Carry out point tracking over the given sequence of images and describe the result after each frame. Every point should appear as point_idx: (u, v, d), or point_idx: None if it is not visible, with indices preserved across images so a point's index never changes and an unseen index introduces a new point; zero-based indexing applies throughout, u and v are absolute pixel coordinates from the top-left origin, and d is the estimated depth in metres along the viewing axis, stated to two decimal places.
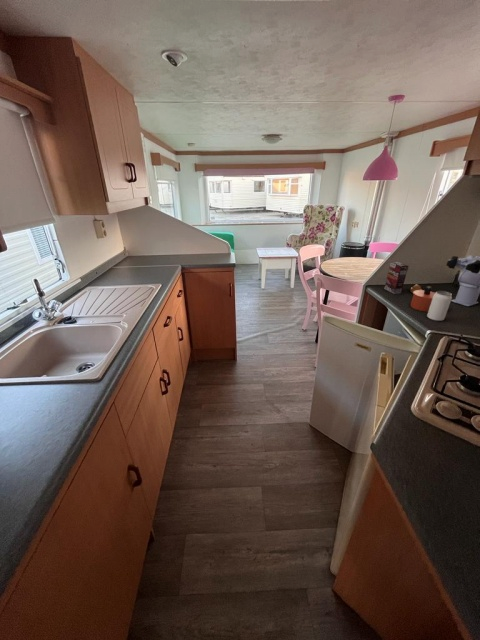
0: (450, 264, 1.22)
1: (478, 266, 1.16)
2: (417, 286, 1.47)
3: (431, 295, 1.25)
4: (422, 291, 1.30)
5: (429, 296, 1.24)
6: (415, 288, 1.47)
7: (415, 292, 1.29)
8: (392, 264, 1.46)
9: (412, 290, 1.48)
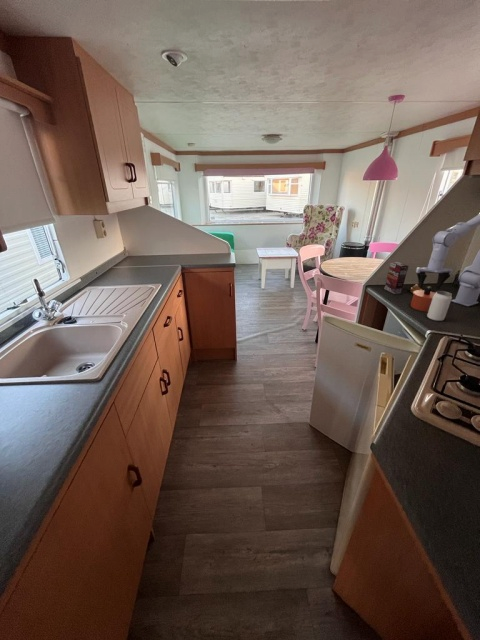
0: None
1: None
2: (417, 286, 1.47)
3: (431, 295, 1.25)
4: (422, 291, 1.30)
5: (429, 296, 1.24)
6: (415, 288, 1.47)
7: (415, 292, 1.29)
8: (392, 264, 1.46)
9: (412, 290, 1.48)
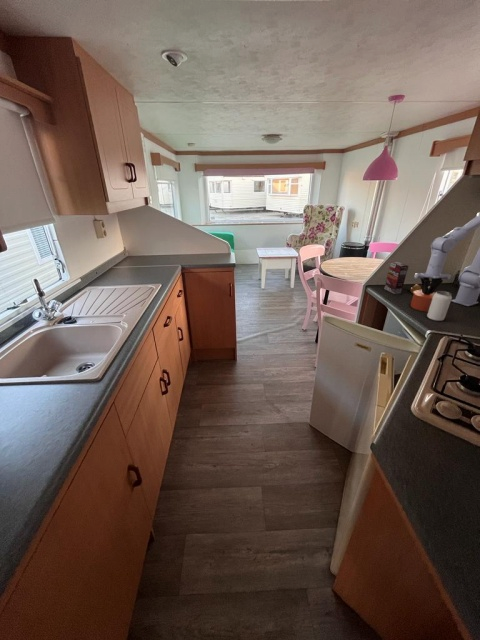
0: None
1: None
2: (417, 286, 1.47)
3: (431, 295, 1.25)
4: None
5: (429, 296, 1.24)
6: (415, 288, 1.47)
7: (415, 292, 1.29)
8: (392, 264, 1.46)
9: (412, 290, 1.48)
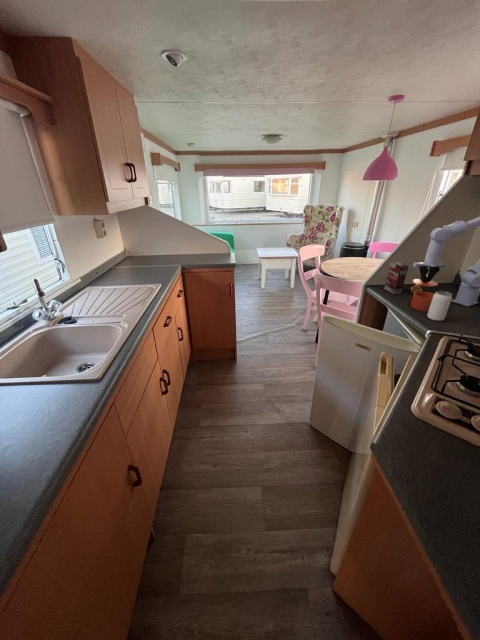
0: None
1: None
2: (417, 286, 1.47)
3: (429, 283, 1.33)
4: None
5: (427, 284, 1.32)
6: (415, 288, 1.47)
7: (414, 280, 1.37)
8: (392, 264, 1.46)
9: (412, 290, 1.48)
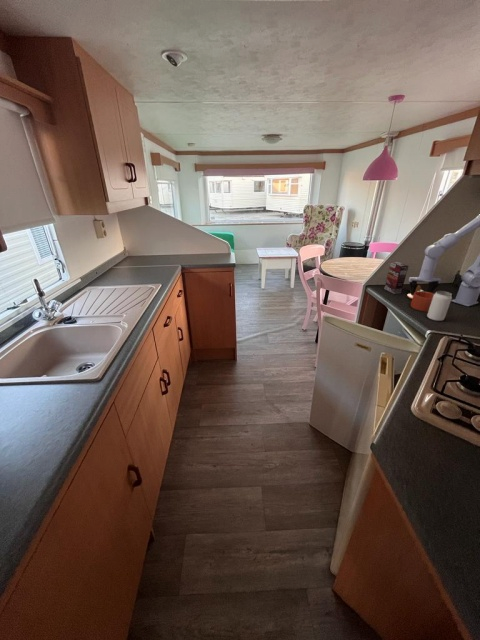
0: None
1: None
2: (417, 286, 1.47)
3: None
4: None
5: None
6: None
7: (409, 295, 1.42)
8: (392, 264, 1.46)
9: None
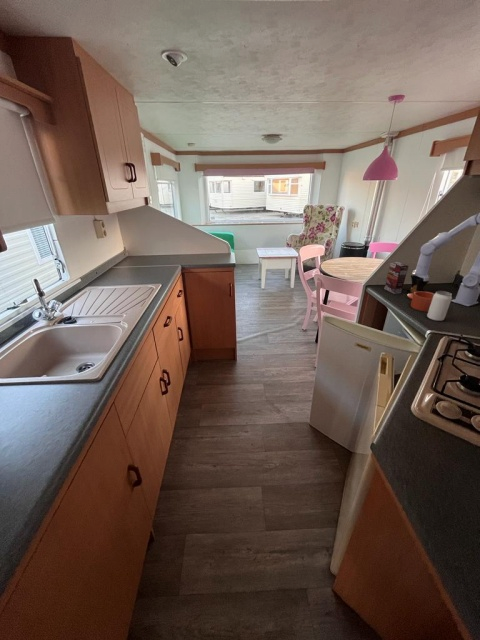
0: (416, 284, 1.50)
1: None
2: None
3: None
4: None
5: None
6: (415, 288, 1.47)
7: (409, 295, 1.42)
8: (392, 264, 1.46)
9: (412, 290, 1.48)
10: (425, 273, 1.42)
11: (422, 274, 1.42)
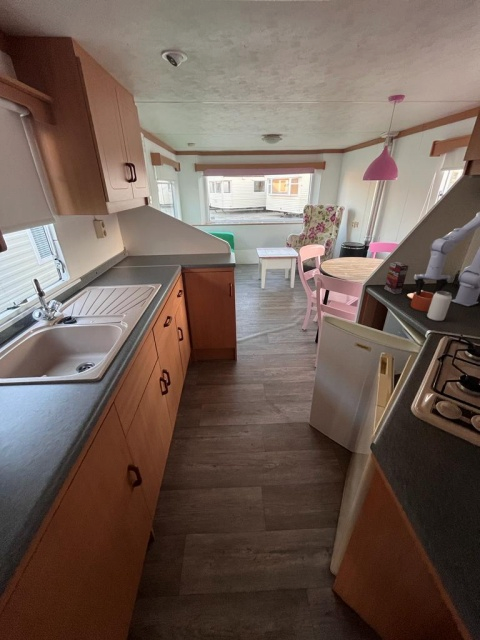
0: (436, 290, 1.25)
1: None
2: None
3: None
4: None
5: None
6: None
7: (409, 295, 1.42)
8: (392, 264, 1.46)
9: None
10: (427, 274, 1.22)
11: (425, 274, 1.24)
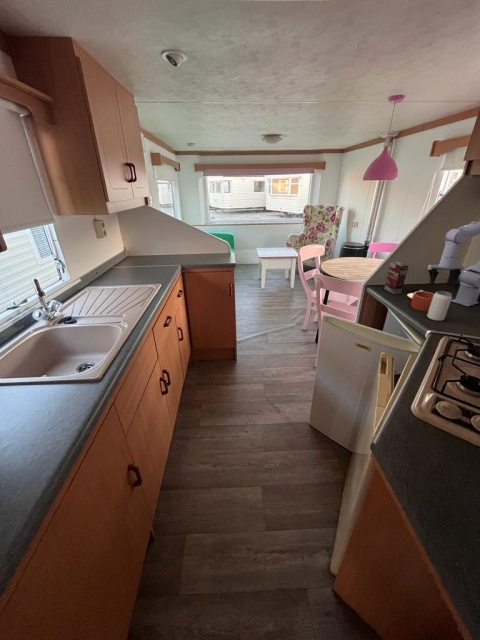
0: (450, 280, 1.27)
1: None
2: None
3: None
4: None
5: None
6: None
7: (409, 295, 1.42)
8: (392, 264, 1.46)
9: None
10: (441, 264, 1.24)
11: (439, 264, 1.26)
